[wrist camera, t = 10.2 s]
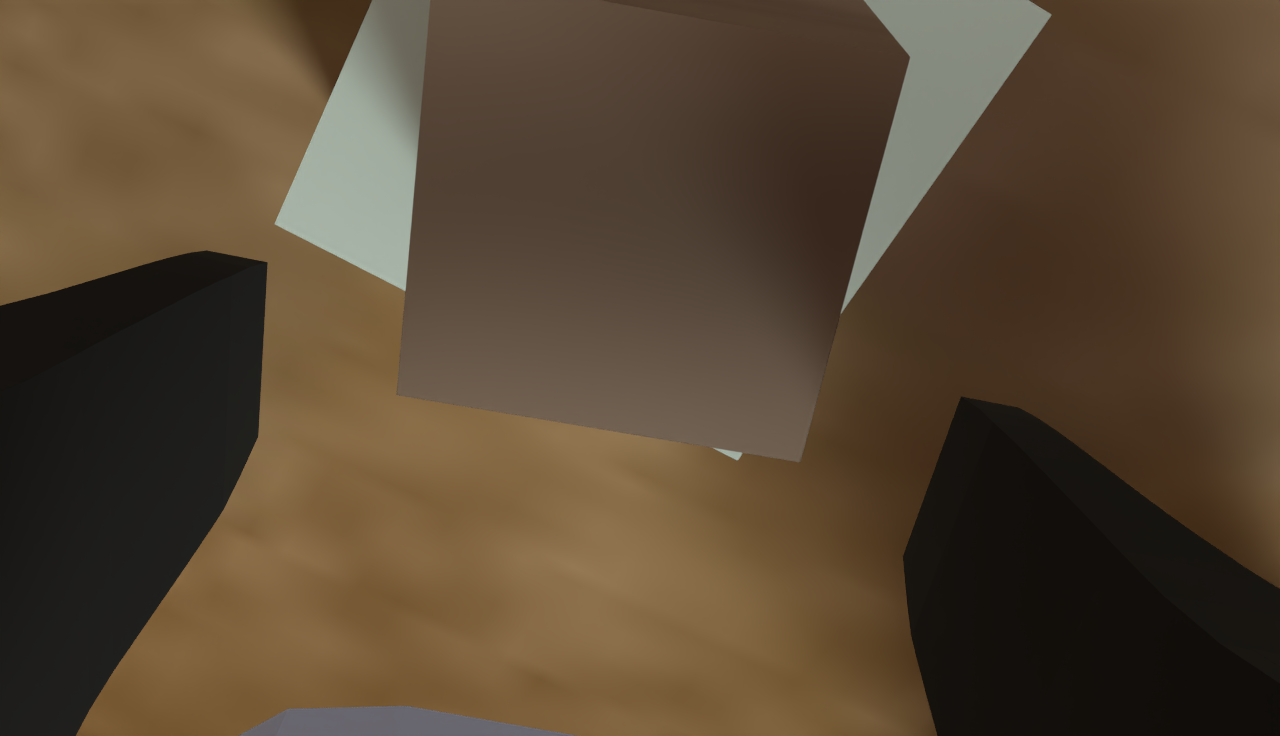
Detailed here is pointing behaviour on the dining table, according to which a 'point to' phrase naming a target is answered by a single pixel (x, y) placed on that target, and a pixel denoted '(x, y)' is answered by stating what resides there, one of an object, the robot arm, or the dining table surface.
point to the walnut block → (643, 210)
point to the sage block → (392, 96)
